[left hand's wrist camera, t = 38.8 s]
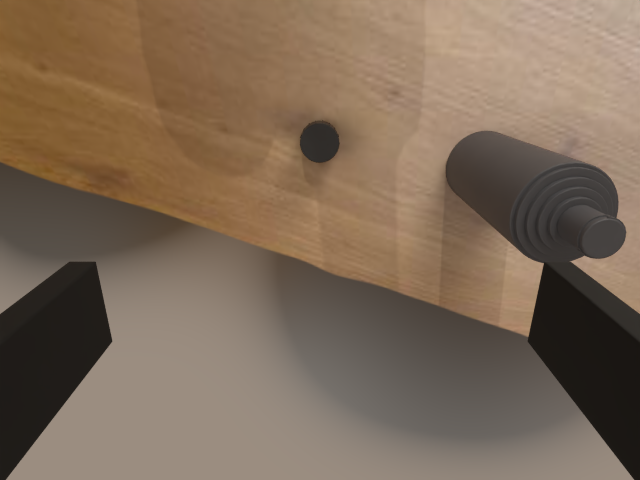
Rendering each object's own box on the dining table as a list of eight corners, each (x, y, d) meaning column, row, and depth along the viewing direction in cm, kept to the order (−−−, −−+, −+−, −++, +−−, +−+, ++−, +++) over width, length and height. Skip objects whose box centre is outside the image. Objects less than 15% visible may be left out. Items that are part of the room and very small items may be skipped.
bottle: (505, 205, 47) (639, 300, 27) (438, 196, 46) (525, 287, 27) (526, 135, 44) (690, 186, 24) (455, 126, 44) (565, 170, 24)
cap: (303, 117, 43) (302, 119, 41) (341, 123, 44) (342, 126, 41) (298, 155, 45) (297, 159, 42) (335, 161, 45) (336, 165, 43)
